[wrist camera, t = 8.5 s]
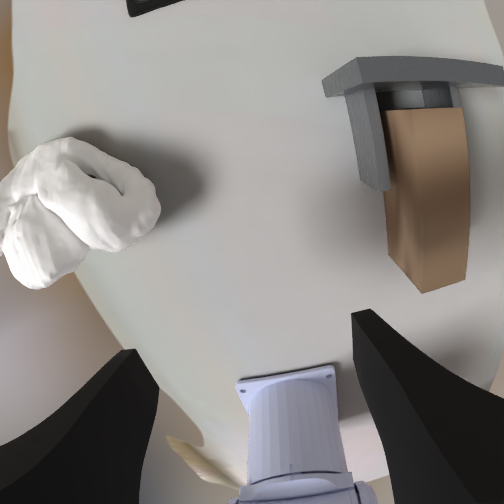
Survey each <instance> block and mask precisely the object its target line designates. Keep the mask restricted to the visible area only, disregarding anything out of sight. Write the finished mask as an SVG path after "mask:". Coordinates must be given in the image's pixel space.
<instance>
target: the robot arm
mask: <svg viewBox="0 0 504 504" xmlns="http://www.w3.org/2000/svg"><path fill="white" fill-rule="evenodd" d="M351 319H352V338H353V360H354V364H355V368H356V372H357V375H358V379H359V383H360V386H361V389H362V391H363V394H364V397H365V399H366V402H367V404H368V407H369V409H370V412H371V415H372V417H373V420H374V422H375V425H376V428H377V430H378V433H379V436H380V438H381V441H382V445H383V448H384V451H385V456H386V460H387V465H388V469H389V474H390V479H391V484H392V490H393V495H394V502H395V504H504V399H503V398H501V397H499V396H497V395H494V394H492V393H490V392H488V391H486V390H483V389H481V388H479V387H477V386H475V385H473V384H471V383H469V382H467V381H466V380H464V379H462V378H460V377H459V376H457V375H455V374H454V373H452V372H450V371H449V370H447V369H446V368H444V367H443V366H441V365H440V364H438V363H437V362H435V361H434V360H433V359H431V358H430V357H428V356H427V355H426V354H424V353H423V352H422V351H420V350H419V349H418V348H416V347H415V346H414V345H413V344H411V343H410V342H409V341H408V340H406V339H405V338H404V337H403V336H401V335H400V334H399V333H398V332H397V331H396V330H394V329H393V328H392V327H391V326H390V325H389V324H387V323H386V322H385V321H384V320H383V319H382V318H381V317H380V316H378V315H377V314H376V313H375V312H374V311H373V310H371V309H366V310H362V311H358V312H354V313H351ZM329 374H330V375H329ZM235 387H236V390H237V392H238V394H239V396H240V399H241V401H242V403H243V405H244V407H245V409H246V412H247V414H248V416H249V440H248V472H247V486H241V487H240V489H239V497H237V498H236V497H235V498H232V499H231V500H229V501H228V503H227V504H378V502H377V498H376V495H375V492H374V490H373V488H372V487H371V486H370V485H368V484H365V482H363V481H358V482H355V483H353V477H352V472H348V470H347V465H346V459H345V454H344V449H343V444H342V439H341V434H340V430H339V425H338V405H337V390H336V376H335V369H334V366H332V365H327V366H322V367H317V368H313V369H308V370H303V371H297V372H292V373H286V374H281V375H275V376H268V377H262V378H255V379H248V380H240V381H237V382H236V385H235ZM242 389H244V390H242ZM158 396H159V386H158V384H157V383H156V381H155V380H154V378H153V377H152V375H151V373H150V372H149V370H148V369H147V367H146V365H145V364H144V362H143V361H142V359H141V357H140V356H139V354H138V352H137V350H136V349H127V350H121V351H120V352H119V353H117V354H116V355H115V356H114V357H113V358H112V359H111V360H110V361H108V362H107V363H106V364H105V365H104V366H103V367H102V368H101V369H100V370H99V371H98V372H97V373H96V374H95V375H94V376H93V377H92V378H91V379H90V380H89V381H88V382H87V383H86V384H85V385H84V386H83V387H82V388H81V389H80V390H79V391H78V392H77V393H75V394H74V395H73V396H72V397H71V398H70V399H69V400H68V401H67V402H66V403H65V404H63V405H62V406H61V407H60V408H59V409H58V410H57V411H55V412H54V413H53V414H52V415H50V416H49V417H48V418H46V419H45V420H44V421H42V422H41V423H40V424H38V425H37V426H36V427H34V428H32V429H31V430H29V431H27V432H26V433H24V434H23V435H21V436H19V437H18V438H16V439H14V440H12V441H10V442H8V443H6V444H4V445H2V446H0V504H139V490H140V479H141V471H142V466H143V461H144V457H145V453H146V450H147V446H148V442H149V438H150V435H151V431H152V427H153V423H154V420H155V416H156V411H157V404H158Z"/></svg>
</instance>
